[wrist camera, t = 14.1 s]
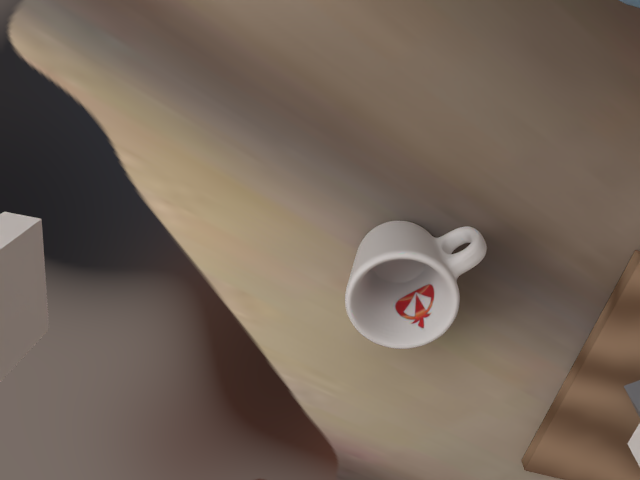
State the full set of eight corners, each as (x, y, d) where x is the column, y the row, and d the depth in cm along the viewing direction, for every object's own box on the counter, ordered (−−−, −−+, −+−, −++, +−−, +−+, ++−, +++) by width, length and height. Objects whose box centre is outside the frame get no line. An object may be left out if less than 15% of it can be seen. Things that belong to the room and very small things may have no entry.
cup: (449, 171, 42) (464, 212, 35) (495, 251, 45) (518, 304, 37) (331, 237, 45) (323, 286, 38) (380, 307, 48) (381, 366, 41)
